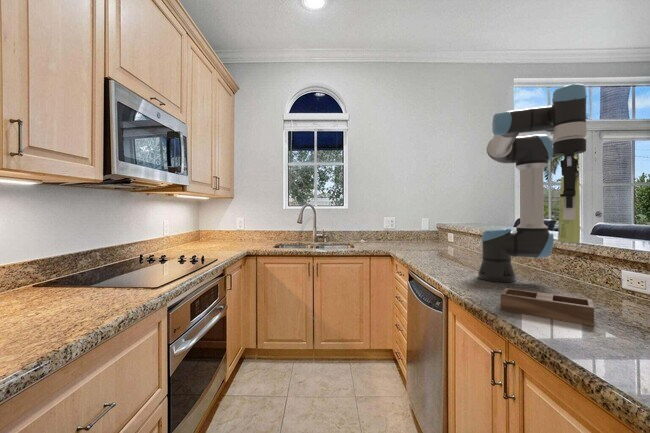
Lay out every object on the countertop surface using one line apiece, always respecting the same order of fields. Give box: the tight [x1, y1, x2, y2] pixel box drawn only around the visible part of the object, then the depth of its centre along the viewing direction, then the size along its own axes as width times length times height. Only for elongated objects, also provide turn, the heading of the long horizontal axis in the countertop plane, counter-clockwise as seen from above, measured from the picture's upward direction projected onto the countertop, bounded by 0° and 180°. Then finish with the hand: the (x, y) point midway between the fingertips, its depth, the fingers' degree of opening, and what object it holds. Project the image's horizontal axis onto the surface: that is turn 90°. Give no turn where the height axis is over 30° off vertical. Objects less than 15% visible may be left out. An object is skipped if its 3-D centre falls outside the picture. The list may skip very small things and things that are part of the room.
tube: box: [557, 174, 581, 244], centre depth 86 cm, size 6×5×20 cm
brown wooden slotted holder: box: [500, 287, 595, 327], centre depth 91 cm, size 10×22×5 cm, turn 50°
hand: (569, 219), depth 86 cm, fingers closed on tube, 6 cm apart
